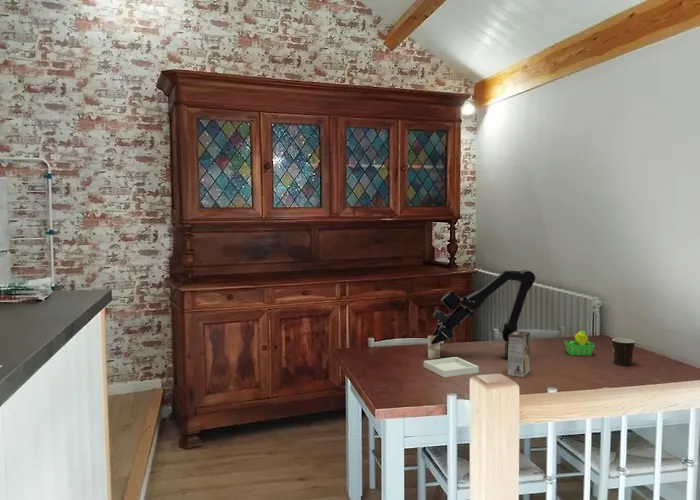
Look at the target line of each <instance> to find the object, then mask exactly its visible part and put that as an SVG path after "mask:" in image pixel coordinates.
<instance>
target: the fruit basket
mask: <svg viewBox="0 0 700 500" xmlns="http://www.w3.org/2000/svg"><path fill="white" fill-rule="evenodd" d="M564 344H565V349H566V353H568V354H569V355H570V356H592V354H593V351H594V348H595V343H593V342H591V341H589V337H588V336H587V332H586V331H585V330H580V331H578V332H577V333H576V334H575V335H574V340H564Z"/></svg>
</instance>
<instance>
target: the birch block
mask: <svg viewBox="0 0 700 500" xmlns="http://www.w3.org/2000/svg"><path fill="white" fill-rule="evenodd" d="M435 337H436V336H432V335H427V359H436V358H440V359H441V342H439V343H436V344H432V343H431V342H432V341H433V339H434V338H435Z"/></svg>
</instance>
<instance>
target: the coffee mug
mask: <svg viewBox="0 0 700 500" xmlns="http://www.w3.org/2000/svg"><path fill="white" fill-rule="evenodd" d="M611 341H612V352H613V353H612V354H613V362H614V365H616V366H620V367H630V366H632V363H633V358H634V357H633V356H634V350H635V345H636V341H635V340H634V339H630V338H624V337H615V338H612V339H611Z"/></svg>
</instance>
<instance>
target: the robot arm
mask: <svg viewBox="0 0 700 500" xmlns="http://www.w3.org/2000/svg"><path fill="white" fill-rule="evenodd" d="M508 281H515V282H517V290H516V293H515V296H514V299H513V302H512V305H511V308H510V310H509V315H508V318H507V320H506V321H505V322H504V321H501V326H500V328H499V331H500V336H501V338H502V339H503V341H505V344H504V355H502V356H501V357H502V358H503V359H507V360H508V335H509V334H511V333H512V332H514V331H518V323H519V322H518V321H519V319H520V316H521V313H522V309H523V306H524V304H525V300H526V298H527V294H528V293H529V291H530V289H531V288H532V287H533V284H534V282H535V281H536V275H535V273H533V271H530V270H529V269H523V270H520V271H518V270H508V269H505V270H502V272H500V274H499V275H497V276H496V277H495V278H493V279H492V280H491V281H489V282H488V283H487V284H486V285H485V286H483V287H482V288H481V289H479V290H477V291H474V292H472V293H470V294H469V295H467V296H465V297H459V296H458V295H457V294H456V293H455V291H454V290H452V289H451V290H450V291H449V292H447V293H445V294H444V295H443V296H442V297H441V299H440V302H441V303H442V304H443V305H445V306H446V308H447V309H448V310H453V311H452V312H451V313H450V312H449V313H448V314H447V313H445V312H443V311H442V310H439V309H435V310H434V313H433V314H432V317H433V318H434V319H435V320H436V319H437V322H436V329H435V330H434V332H433V333H432V334H431V336H436V337H435V338H434V339H433V341H432V342H431V343H432V344H436V343H439V342H440V343H441V342H444V341H447V340H451V339H452V338H453V337H454V333H453V332H454V330H455V328H457V327H459V326H460V325H461V323H462V322H463V321H465V319H466V318H467V317H469V316H470V317H471V318H472V319H473V318H474V317H475V316H474V313H475V311H474V310H478V309H479V307H481V306H482V304H483V303H484V302H485V301H486V299H487V298H488V297H490V295H491V294H493V293H494V292H495V291H496V290H498V289H499V288H500V287H502V286H503V285H504V284H506V283H507V282H508Z"/></svg>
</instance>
